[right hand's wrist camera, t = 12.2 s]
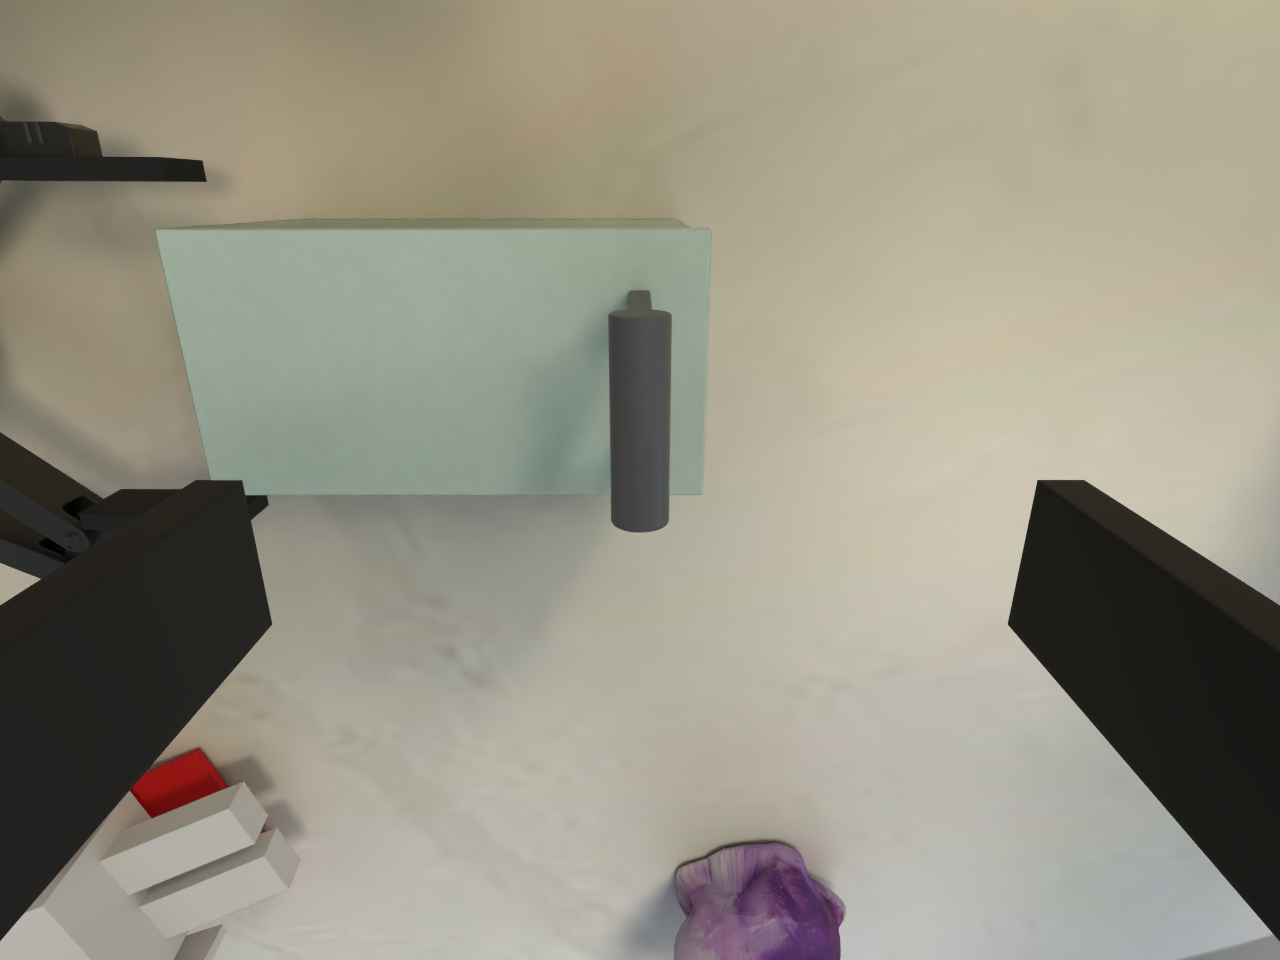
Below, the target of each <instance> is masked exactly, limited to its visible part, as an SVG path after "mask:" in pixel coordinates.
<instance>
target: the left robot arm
mask: <svg viewBox="0 0 1280 960" xmlns="http://www.w3.org/2000/svg"><path fill="white" fill-rule="evenodd" d="M2 180H19V181H159V182H207V181H206V176H205V171H204V166H203V161H201V160H188V159H176V158H163V157H103V156H102V152H101V147H100V143H99V139H98V135H97V131H95V130H92V129H90V128H87V127H85V126H82V125H75V124H67V123H59V122H7V121H5V120H4V119H3V118H1V117H0V183H1V182H2ZM180 490H181V489H121V490H119V491H117V492H115V493H114V494H112V495H110V496H108V497H107V498H105V499H103V498H101V497H100V496H98V495H96V494H95V493H93V492H92V491H90V490H89V489H87V488H86V487H84V486H83V485H81V484H79V483H78V482H76V481H75V480H73V479H72V478H70V477H69V476H67V475H66V474H64V473H62V472H61V471H59V470H58V469H56V468H55V467H53V466H52V465H50V464H48V463H47V462H45V461H44V460H42V459H41V458H39V457H38V456H36V455H35V454H33V453H31V452H30V451H28V450H27V449H25V448H24V447H22V446H21V445H19V444H18V443H16V442H14V441H13V440H11V439H10V438H8V437H7V436H5V435H4V434H2V433H0V563H2V564H5V565H7V566H10V567H12V568H15V569H18V570H20V571H23V572H25V573H28V574H30V575H33V576H36V577H38V578H41V579H42V578H44V577H46V576H47V575H49V574H50V573H52V572H53V571H55V570H56V569H58V568H60V567H61V566H63V565H64V564H66V563H67V562H69V561H70V560H72V559H74V558H75V557H77V556H78V555H80V554H81V553H83V552H85V551H86V550H88V549H89V548H91V547H92V546H94V545H95V544H97V543H99V542H100V541H102V540H103V539H105V538H106V537H108V536H110V535H111V534H113V533H114V532H116V531H117V530H119V529H120V528H122V527H124V526H125V525H127V524H128V523H130V522H131V521H133V520H135V519H136V518H138V517H139V516H141V515H142V514H144V513H145V512H147V511H149V510H150V509H152V508H153V507H155V506H156V505H158V504H159V503H161V502H163V501H164V500H166V499H167V498H169V497H170V496H172V495H174V494H175V493H177V492H178V491H180ZM246 500H247V505H248V510H249V515H250V520H251V519H253V518H254V517H255V516H256V515H258V514H259V513H260V512H261V511H262V510H264V509H265V508H266V507H267V506H268V505H269V504H268V499H267V495H246Z"/></svg>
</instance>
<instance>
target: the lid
mask: <svg viewBox="0 0 1280 960" xmlns="http://www.w3.org/2000/svg"><path fill="white" fill-rule="evenodd" d="M155 234H156V238H157V243H158V247H159V252H160V256H161V261H162V265H163V270H164V274H165V279H166V283H167V287H168V292H169V296H170V301H171V305H172V310H173V314H174V319H175V323H176V328H177V332H178V337H179V341H180V346H181V350H182V354H183V359H184V363H185V368H186V372H187V377H188V381H189V386H190V390H191V395H192V399H193V404H194V408H195V413H196V417H197V421H198V426H199V430H200V435H201V439H202V444H203V448H204V453H205V457H206V462H207V466H208V471H209V475H210V480H242V481H243V486H244V491H245V495H611V521H612V523H613V524H614V526H616V527H617V528H619V529H622V530H625V531H629V532H651V531H655V530H659V529H661V528H663V527H665V526H666V525H667V523H668V521H669V495H702V494H703V471H704V441H705V410H706V380H707V350H708V319H709V289H710V258H711V230H710V229H708V228H165V229H156V230H155Z"/></svg>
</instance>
